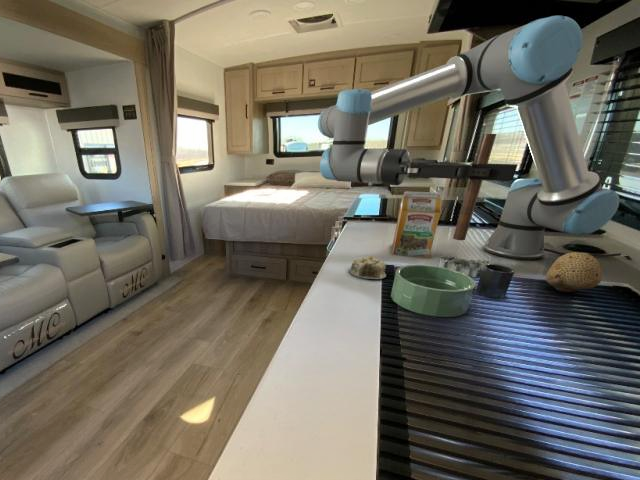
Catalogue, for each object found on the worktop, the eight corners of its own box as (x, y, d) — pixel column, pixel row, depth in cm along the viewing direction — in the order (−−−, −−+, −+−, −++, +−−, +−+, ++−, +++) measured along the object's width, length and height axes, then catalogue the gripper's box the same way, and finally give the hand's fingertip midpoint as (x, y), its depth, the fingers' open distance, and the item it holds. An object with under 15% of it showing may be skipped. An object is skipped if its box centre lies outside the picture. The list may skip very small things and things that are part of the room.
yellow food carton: (392, 254, 108) (405, 193, 100) (392, 245, 117) (403, 189, 108) (429, 257, 104) (444, 195, 96) (425, 248, 113) (440, 190, 105)
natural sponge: (601, 297, 77) (622, 257, 73) (574, 303, 75) (594, 261, 71) (558, 283, 85) (574, 245, 81) (532, 287, 83) (548, 249, 79)
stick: (462, 237, 71) (492, 133, 62) (466, 240, 69) (499, 133, 60) (451, 237, 71) (480, 134, 63) (455, 240, 69) (486, 133, 61)
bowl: (449, 290, 82) (456, 266, 79) (480, 321, 68) (491, 293, 65) (383, 287, 84) (388, 263, 81) (401, 317, 70) (407, 289, 67)
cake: (344, 269, 97) (346, 251, 95) (378, 270, 97) (381, 252, 95) (354, 279, 88) (357, 260, 86) (392, 280, 88) (396, 260, 86)
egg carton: (487, 275, 91) (492, 261, 89) (470, 280, 88) (474, 265, 86) (450, 263, 99) (453, 250, 97) (433, 267, 96) (437, 254, 94)
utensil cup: (495, 291, 81) (505, 264, 78) (509, 301, 76) (520, 273, 73) (470, 290, 82) (478, 263, 79) (482, 300, 77) (491, 272, 74)
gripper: (394, 181, 82) (512, 189, 68) (369, 187, 72) (500, 199, 58) (400, 148, 79) (525, 149, 64) (375, 149, 69) (516, 151, 54)
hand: (513, 172), depth 61 cm, fingers closed on stick, 2 cm apart
